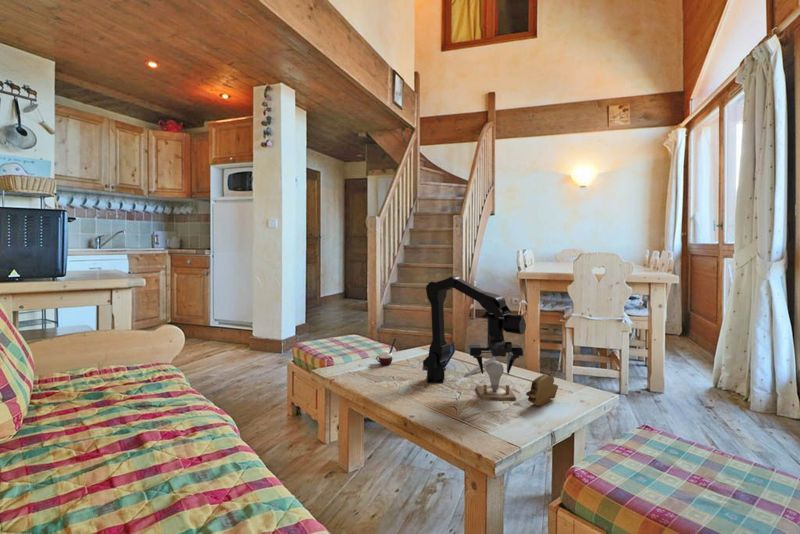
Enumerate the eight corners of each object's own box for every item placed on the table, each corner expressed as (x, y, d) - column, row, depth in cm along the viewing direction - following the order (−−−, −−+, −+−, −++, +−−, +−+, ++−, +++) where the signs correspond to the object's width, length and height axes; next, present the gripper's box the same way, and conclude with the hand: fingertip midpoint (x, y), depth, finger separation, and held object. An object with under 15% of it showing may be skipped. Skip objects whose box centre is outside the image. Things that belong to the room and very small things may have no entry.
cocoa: (374, 364, 193) (372, 338, 192) (384, 361, 198) (382, 336, 197) (389, 368, 187) (387, 341, 186) (399, 364, 191) (397, 338, 191)
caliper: (494, 367, 188) (494, 353, 187) (496, 367, 187) (496, 353, 187) (464, 377, 174) (464, 361, 174) (466, 377, 174) (466, 362, 173)
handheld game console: (425, 360, 199) (425, 341, 198) (454, 361, 197) (454, 341, 197) (424, 370, 183) (423, 349, 183) (455, 371, 182) (455, 350, 181)
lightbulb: (484, 388, 157) (484, 358, 156) (500, 387, 157) (500, 358, 156) (489, 394, 151) (489, 363, 150) (505, 393, 151) (506, 363, 150)
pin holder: (481, 400, 148) (481, 388, 148) (476, 388, 160) (476, 377, 160) (515, 400, 148) (515, 388, 148) (508, 388, 160) (508, 377, 160)
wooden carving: (546, 395, 152) (546, 368, 151) (558, 399, 149) (559, 371, 148) (523, 408, 140) (523, 379, 140) (535, 412, 137) (536, 382, 137)
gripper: (472, 336, 145) (472, 380, 146) (527, 336, 144) (527, 381, 145) (468, 329, 156) (468, 371, 157) (519, 329, 155) (519, 371, 156)
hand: (495, 373), depth 154 cm, fingers open, 9 cm apart
